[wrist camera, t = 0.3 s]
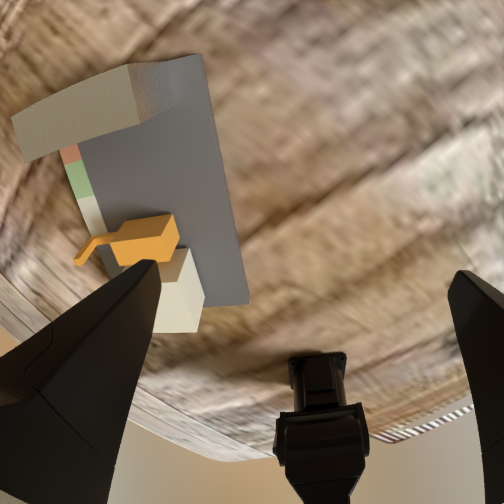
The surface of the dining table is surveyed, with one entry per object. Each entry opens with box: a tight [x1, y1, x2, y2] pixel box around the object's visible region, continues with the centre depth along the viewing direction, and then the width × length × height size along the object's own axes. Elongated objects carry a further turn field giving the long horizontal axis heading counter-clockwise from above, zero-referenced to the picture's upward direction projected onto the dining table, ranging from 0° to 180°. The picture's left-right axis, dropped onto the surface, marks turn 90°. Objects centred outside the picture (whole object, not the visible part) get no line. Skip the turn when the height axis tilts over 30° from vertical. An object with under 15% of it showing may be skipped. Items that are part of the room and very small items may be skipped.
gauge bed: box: [11, 54, 250, 307], centre depth 20 cm, size 20×12×7 cm, turn 9°
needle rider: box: [73, 214, 180, 266], centre depth 21 cm, size 2×8×4 cm, turn 98°
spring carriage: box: [122, 248, 205, 333], centre depth 23 cm, size 5×5×4 cm
